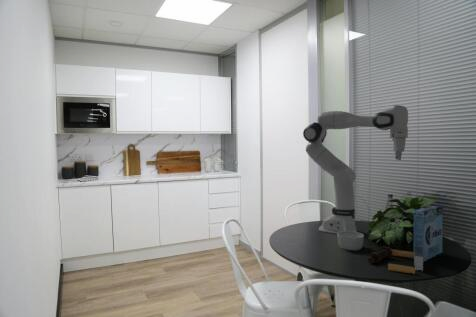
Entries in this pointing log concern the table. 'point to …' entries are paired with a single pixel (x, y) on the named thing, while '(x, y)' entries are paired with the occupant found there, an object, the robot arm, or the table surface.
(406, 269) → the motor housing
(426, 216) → the light blue carton box
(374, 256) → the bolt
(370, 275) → the table surface
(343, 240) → the ramekin
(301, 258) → the table surface
